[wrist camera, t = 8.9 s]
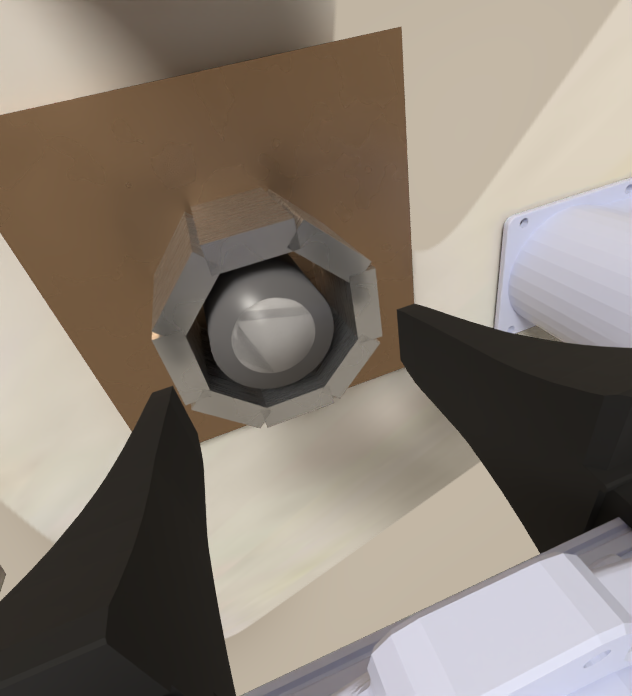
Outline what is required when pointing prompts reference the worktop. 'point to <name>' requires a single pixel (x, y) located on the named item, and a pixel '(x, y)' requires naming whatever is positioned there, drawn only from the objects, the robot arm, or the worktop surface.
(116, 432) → the worktop surface
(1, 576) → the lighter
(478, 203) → the worktop surface
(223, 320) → the grey short cylinder
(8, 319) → the worktop surface
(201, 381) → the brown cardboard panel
